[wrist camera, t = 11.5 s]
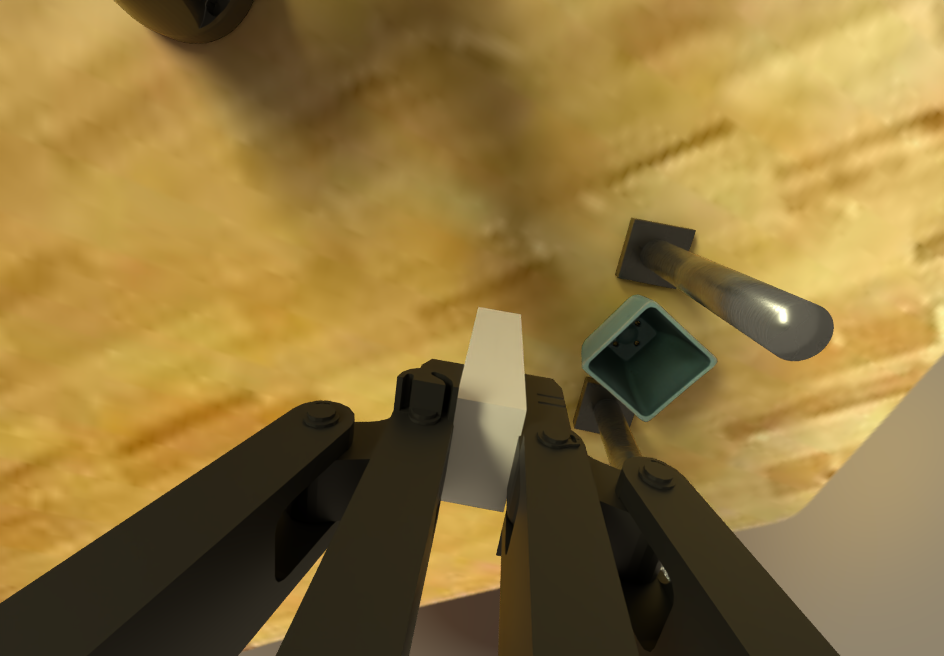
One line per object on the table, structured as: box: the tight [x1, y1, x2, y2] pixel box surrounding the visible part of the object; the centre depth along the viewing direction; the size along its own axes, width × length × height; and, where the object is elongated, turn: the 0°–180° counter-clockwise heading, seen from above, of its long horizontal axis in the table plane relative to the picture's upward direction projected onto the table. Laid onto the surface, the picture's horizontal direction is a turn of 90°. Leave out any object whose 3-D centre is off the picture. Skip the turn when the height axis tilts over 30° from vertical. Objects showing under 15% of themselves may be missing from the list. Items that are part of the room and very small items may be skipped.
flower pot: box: [581, 295, 717, 422], centre depth 45 cm, size 9×9×9 cm
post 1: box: [573, 377, 671, 581], centre depth 40 cm, size 6×6×26 cm
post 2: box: [615, 218, 834, 361], centre depth 34 cm, size 6×6×26 cm
